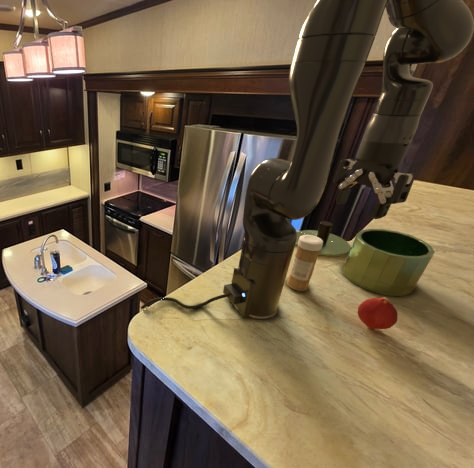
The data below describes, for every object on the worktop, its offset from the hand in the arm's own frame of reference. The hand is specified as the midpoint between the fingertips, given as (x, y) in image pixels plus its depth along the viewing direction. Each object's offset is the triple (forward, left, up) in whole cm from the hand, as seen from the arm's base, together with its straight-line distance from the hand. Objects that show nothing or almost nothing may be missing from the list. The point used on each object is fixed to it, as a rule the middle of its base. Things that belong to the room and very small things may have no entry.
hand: (357, 210), depth 66 cm
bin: (+7, -5, -18) cm, 20 cm away
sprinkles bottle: (-13, -2, -18) cm, 22 cm away
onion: (-9, -17, -18) cm, 26 cm away
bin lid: (+7, +12, -17) cm, 22 cm away
